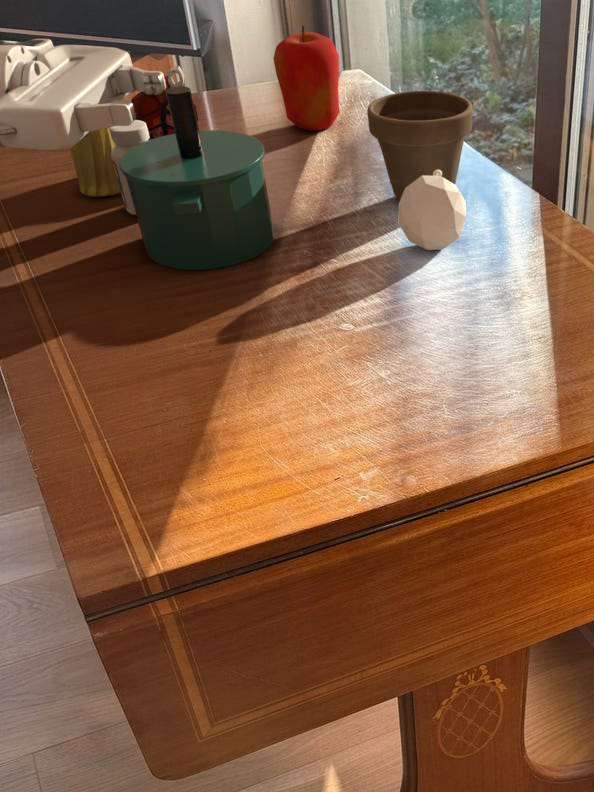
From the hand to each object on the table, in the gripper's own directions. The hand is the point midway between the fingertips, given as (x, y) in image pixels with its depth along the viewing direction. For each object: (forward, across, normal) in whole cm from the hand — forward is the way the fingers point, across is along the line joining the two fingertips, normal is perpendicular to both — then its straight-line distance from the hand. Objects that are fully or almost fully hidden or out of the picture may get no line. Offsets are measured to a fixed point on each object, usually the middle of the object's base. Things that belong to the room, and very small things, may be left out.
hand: (148, 97), depth 97 cm
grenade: (-9, +26, +15) cm, 31 cm away
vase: (-14, +15, +15) cm, 25 cm away
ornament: (+28, 0, +15) cm, 31 cm away
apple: (+7, +38, +15) cm, 41 cm away
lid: (+3, 0, +6) cm, 7 cm away
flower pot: (+25, +13, +15) cm, 32 cm away
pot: (+3, 0, +14) cm, 15 cm away
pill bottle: (-7, +10, +15) cm, 19 cm away
